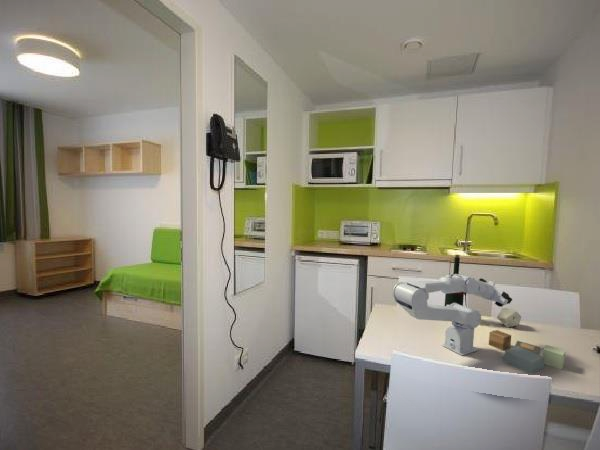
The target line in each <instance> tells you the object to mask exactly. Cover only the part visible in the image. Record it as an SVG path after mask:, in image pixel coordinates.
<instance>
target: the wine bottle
mask: <svg viewBox="0 0 600 450" xmlns="http://www.w3.org/2000/svg"><path fill="white" fill-rule="evenodd" d="M460 257H461V256H460V254H454V259H453V273H452V274H449V275H450V276H453V275H454V274H459V272H460V259H461V258H460ZM444 294H445V293H444ZM467 294H468V293H465V292H457V293H447V294H445V296H444V297H445V298H444V306H447V305H451V304H452V303H457V304H459V305H462V306H464V302H465V307H467V308H468V306H467V304H468V303H467Z"/></svg>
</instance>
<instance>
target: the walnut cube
mask: <svg viewBox="0 0 600 450" xmlns="http://www.w3.org/2000/svg"><path fill="white" fill-rule="evenodd" d="M511 342H512V334H509V333H507V332H504V331H501V330H499V329H495V330H493V331H489V335H488V346H491V347H493V348H495V349H498V350H500V351H503V352H504V351H505V350H508V349H511V345H512V343H511Z"/></svg>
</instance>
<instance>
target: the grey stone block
mask: <svg viewBox="0 0 600 450" xmlns="http://www.w3.org/2000/svg"><path fill="white" fill-rule="evenodd" d="M496 319H498V320H499V321H500V322H501V323H502V324H503V325H504V326H505V328H512V327H513V326H515V327H517V326H518V325H519V324H520V323H521V322H520V321H521V319H522V316H521V314H519V313H518V312H517V310H515V309H514V308H513V307H511V306H510V307H509V306H508V307H502V308H500V310H499V311H498V314H497V316H496Z"/></svg>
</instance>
